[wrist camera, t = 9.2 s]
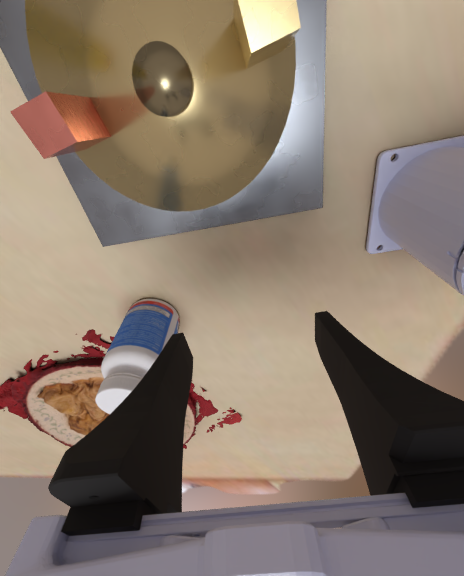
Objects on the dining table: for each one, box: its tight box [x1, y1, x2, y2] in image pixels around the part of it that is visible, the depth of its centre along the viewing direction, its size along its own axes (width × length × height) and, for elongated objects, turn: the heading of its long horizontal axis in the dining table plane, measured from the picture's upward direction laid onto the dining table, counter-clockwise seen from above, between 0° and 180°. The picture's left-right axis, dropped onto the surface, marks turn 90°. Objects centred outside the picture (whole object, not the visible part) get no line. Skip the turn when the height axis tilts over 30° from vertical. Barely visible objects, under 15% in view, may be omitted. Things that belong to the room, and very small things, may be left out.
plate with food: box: [0, 329, 242, 449], centre depth 35 cm, size 25×26×4 cm
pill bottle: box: [95, 299, 179, 414], centre depth 23 cm, size 6×5×10 cm
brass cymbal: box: [11, 0, 301, 212], centre depth 13 cm, size 14×14×6 cm
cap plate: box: [0, 0, 326, 247], centre depth 15 cm, size 18×18×1 cm
